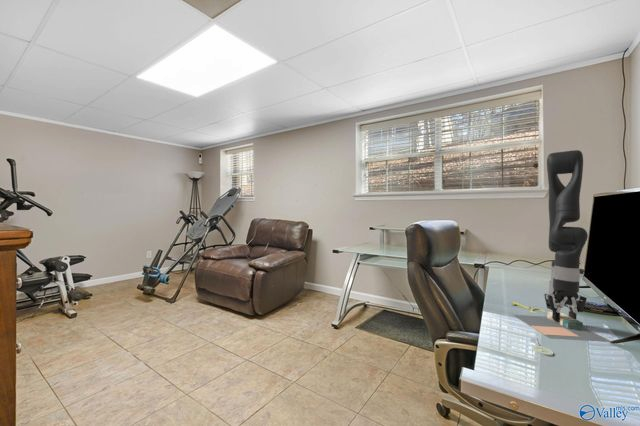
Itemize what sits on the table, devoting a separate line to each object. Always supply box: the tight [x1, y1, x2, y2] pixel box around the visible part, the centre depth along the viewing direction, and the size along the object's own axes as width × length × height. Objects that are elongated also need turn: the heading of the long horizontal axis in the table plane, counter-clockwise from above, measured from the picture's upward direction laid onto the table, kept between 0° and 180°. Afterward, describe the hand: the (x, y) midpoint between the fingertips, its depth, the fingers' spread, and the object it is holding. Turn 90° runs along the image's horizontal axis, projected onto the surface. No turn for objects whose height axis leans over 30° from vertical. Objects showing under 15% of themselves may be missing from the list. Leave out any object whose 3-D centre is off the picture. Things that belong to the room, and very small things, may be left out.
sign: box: [531, 339, 554, 357], centre depth 88 cm, size 5×1×15 cm
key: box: [511, 301, 546, 315], centre depth 118 cm, size 7×12×2 cm, turn 49°
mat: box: [512, 314, 613, 343], centre depth 100 cm, size 20×20×1 cm
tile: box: [546, 311, 584, 329], centre depth 104 cm, size 10×5×2 cm, turn 175°
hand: (564, 321), depth 104 cm, fingers closed on tile, 5 cm apart
